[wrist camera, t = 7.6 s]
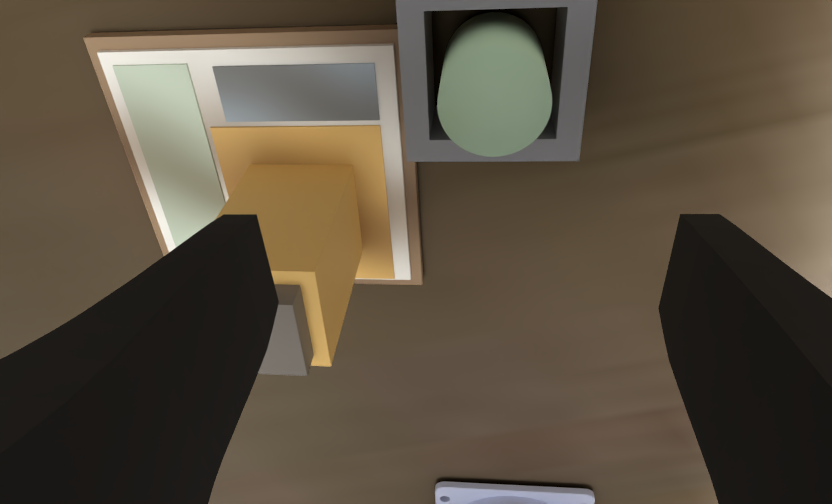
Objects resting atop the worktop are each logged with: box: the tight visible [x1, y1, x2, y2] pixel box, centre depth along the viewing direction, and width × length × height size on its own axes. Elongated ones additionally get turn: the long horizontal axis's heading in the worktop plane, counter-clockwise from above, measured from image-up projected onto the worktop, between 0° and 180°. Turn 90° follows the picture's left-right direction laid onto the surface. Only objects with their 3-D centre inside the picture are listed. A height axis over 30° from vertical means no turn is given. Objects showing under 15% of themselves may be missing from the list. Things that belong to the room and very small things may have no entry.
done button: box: [437, 12, 552, 157], centre depth 16 cm, size 3×3×3 cm
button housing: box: [396, 0, 598, 162], centre depth 18 cm, size 5×5×2 cm
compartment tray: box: [83, 24, 423, 285], centre depth 21 cm, size 10×10×1 cm
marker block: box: [216, 164, 363, 376], centre depth 19 cm, size 4×4×6 cm
